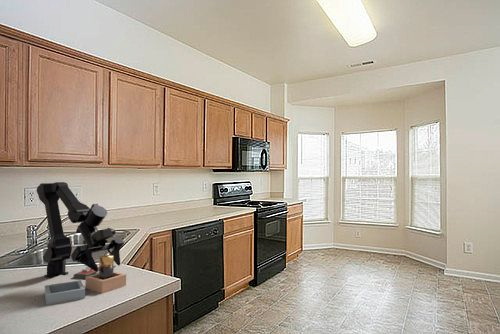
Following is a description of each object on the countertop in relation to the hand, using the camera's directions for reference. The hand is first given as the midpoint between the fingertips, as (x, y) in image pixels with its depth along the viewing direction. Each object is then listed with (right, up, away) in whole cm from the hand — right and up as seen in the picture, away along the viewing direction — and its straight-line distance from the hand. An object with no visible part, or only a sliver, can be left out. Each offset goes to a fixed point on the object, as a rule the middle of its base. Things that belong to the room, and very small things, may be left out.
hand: (108, 267), depth 122 cm
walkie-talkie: (-13, -9, +19) cm, 25 cm away
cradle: (-11, -8, -10) cm, 16 cm away
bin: (-1, -8, 0) cm, 8 cm away
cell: (-1, -7, +1) cm, 7 cm away
